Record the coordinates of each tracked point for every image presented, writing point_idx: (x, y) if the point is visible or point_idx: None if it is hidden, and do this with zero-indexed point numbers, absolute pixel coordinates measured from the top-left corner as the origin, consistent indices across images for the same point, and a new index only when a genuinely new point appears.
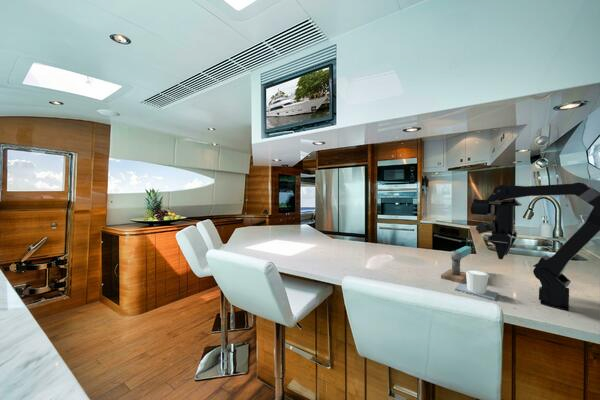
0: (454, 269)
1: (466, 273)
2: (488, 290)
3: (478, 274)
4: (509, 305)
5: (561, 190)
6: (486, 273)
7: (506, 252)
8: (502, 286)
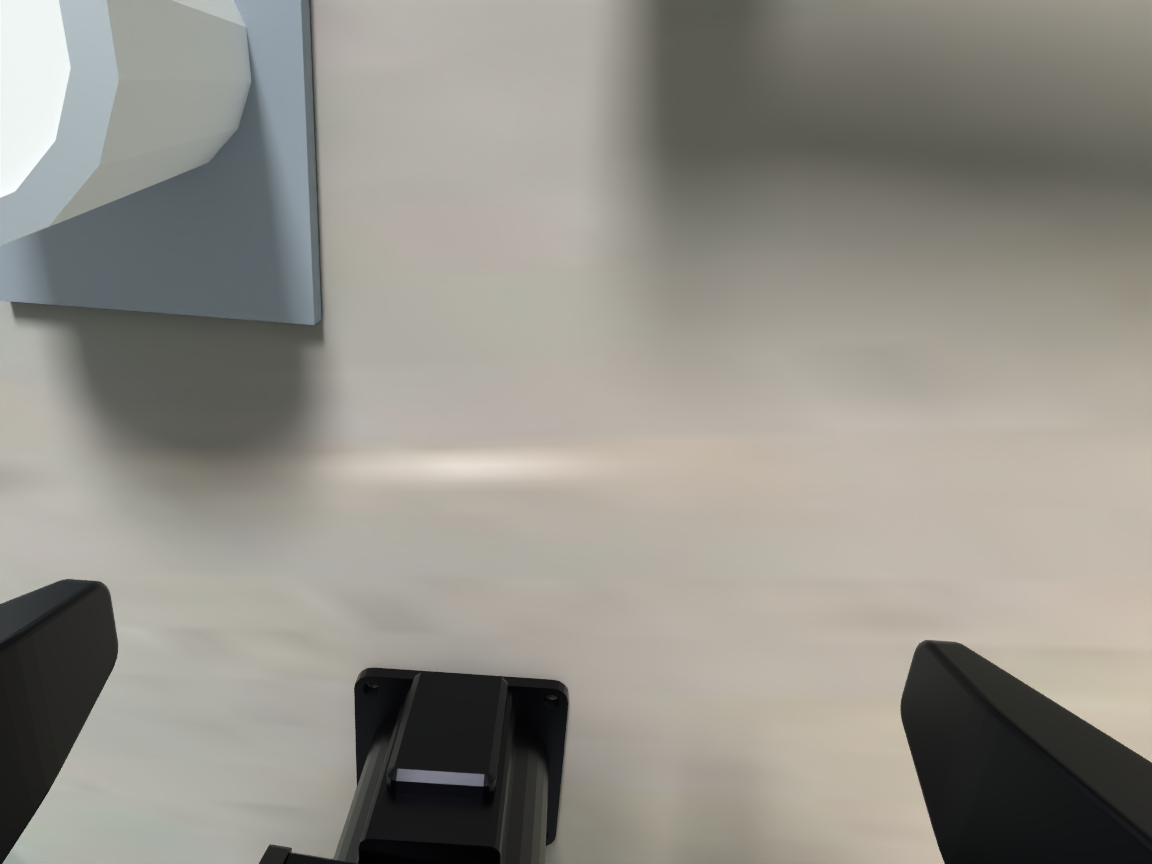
0: None
1: None
2: (295, 201)
3: None
4: (21, 436)
5: None
6: (12, 212)
7: (935, 792)
8: (743, 337)
